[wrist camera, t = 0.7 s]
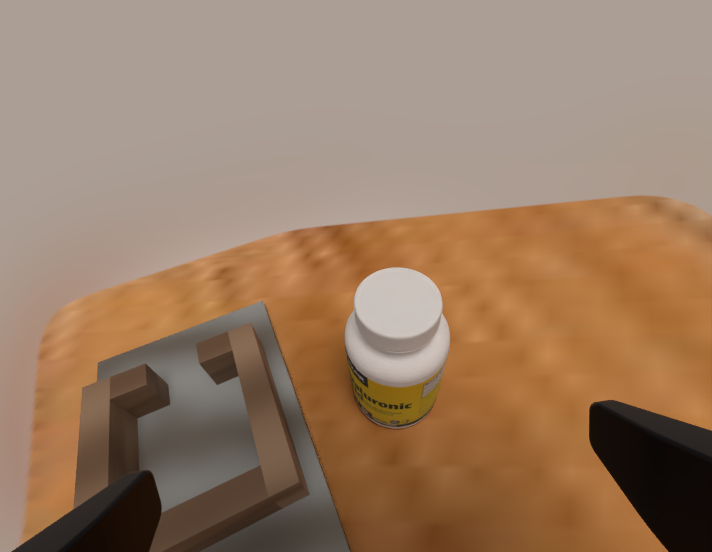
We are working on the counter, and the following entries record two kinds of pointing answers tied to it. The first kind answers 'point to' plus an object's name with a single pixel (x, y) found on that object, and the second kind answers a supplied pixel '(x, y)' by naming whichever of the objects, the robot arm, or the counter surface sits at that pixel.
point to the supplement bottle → (396, 346)
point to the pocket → (211, 440)
